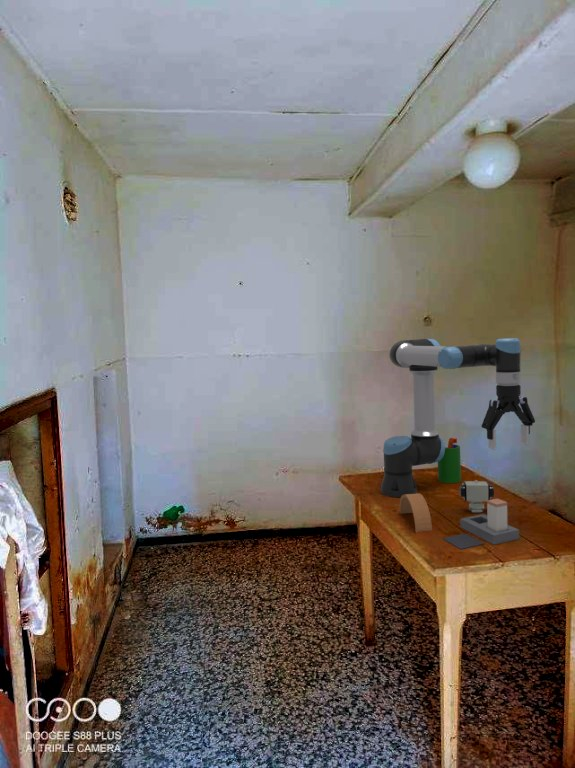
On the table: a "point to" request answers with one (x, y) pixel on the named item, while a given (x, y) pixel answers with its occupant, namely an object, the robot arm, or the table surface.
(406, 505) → the arch
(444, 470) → the green tall piece
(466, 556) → the table surface
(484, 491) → the pneumatic valve
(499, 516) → the plug
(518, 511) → the table surface
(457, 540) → the mat
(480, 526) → the grey boxy piece
